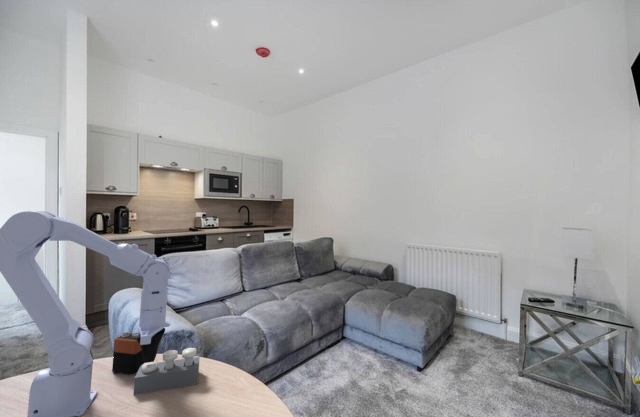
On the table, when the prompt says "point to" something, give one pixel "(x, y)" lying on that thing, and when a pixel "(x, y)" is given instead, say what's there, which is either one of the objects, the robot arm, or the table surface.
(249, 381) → the table surface
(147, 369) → the knob near
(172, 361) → the knob middle
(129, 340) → the battery
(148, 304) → the robot arm
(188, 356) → the knob far
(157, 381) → the mount
